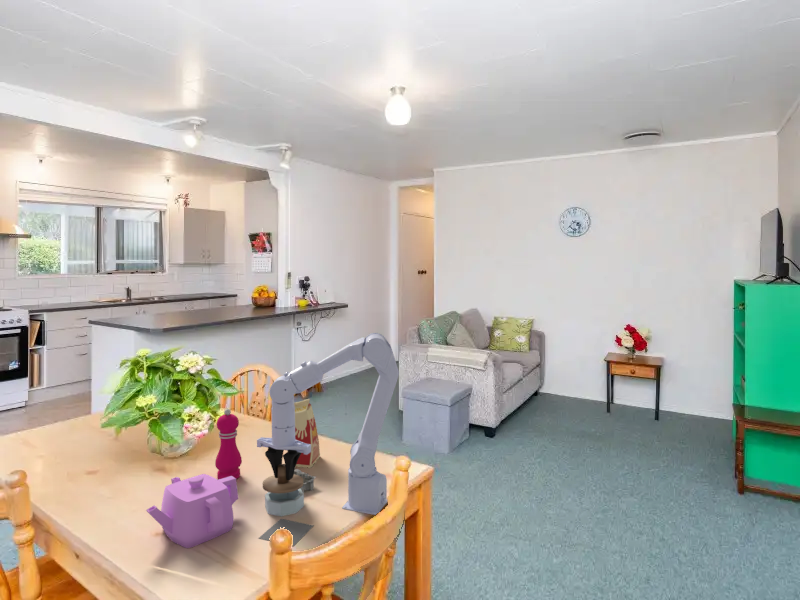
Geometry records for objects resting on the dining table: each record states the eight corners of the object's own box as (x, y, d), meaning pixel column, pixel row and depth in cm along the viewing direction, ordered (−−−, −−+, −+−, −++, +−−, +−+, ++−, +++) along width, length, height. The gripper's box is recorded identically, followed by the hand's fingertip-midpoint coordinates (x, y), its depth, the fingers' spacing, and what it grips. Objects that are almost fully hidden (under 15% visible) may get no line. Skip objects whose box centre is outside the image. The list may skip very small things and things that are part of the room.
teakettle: (224, 549, 107) (223, 494, 106) (143, 552, 106) (141, 496, 105) (243, 510, 124) (242, 462, 123) (173, 512, 123) (172, 464, 122)
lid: (311, 484, 125) (311, 465, 124) (277, 497, 117) (277, 477, 117) (288, 473, 131) (288, 455, 131) (254, 484, 124) (254, 465, 124)
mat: (313, 527, 116) (313, 525, 116) (293, 547, 108) (293, 546, 108) (280, 520, 119) (280, 518, 119) (258, 539, 111) (258, 538, 111)
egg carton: (272, 487, 137) (272, 472, 137) (294, 478, 143) (294, 464, 143) (296, 499, 130) (296, 483, 130) (318, 489, 136) (318, 474, 136)
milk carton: (320, 456, 158) (319, 395, 157) (312, 468, 149) (311, 403, 148) (292, 455, 159) (291, 394, 158) (282, 466, 150) (281, 402, 149)
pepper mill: (233, 483, 139) (232, 413, 137) (210, 481, 140) (208, 412, 139) (246, 472, 146) (245, 406, 144) (224, 470, 147) (222, 404, 146)
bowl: (309, 502, 128) (309, 489, 128) (290, 519, 119) (290, 505, 119) (279, 496, 131) (279, 484, 131) (258, 513, 122) (258, 499, 122)
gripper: (317, 423, 125) (317, 475, 126) (268, 416, 130) (268, 467, 131) (302, 432, 118) (303, 487, 119) (251, 425, 123) (252, 478, 124)
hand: (284, 477), depth 125 cm, fingers closed on lid, 3 cm apart
